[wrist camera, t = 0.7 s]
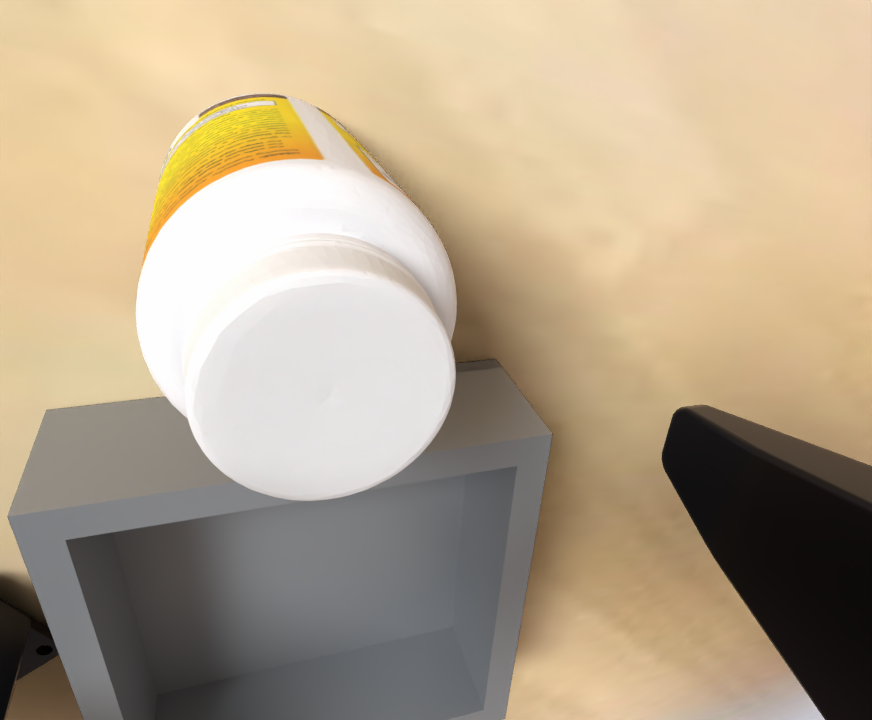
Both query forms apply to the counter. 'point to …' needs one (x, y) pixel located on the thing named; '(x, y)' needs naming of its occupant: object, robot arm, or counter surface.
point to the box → (283, 569)
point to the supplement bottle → (295, 302)
